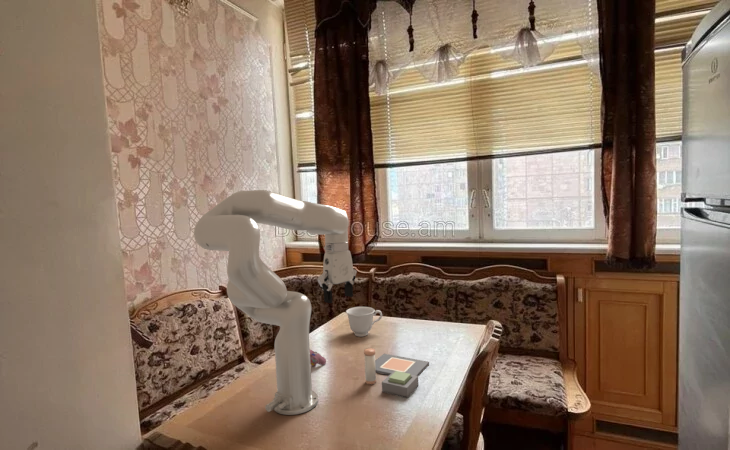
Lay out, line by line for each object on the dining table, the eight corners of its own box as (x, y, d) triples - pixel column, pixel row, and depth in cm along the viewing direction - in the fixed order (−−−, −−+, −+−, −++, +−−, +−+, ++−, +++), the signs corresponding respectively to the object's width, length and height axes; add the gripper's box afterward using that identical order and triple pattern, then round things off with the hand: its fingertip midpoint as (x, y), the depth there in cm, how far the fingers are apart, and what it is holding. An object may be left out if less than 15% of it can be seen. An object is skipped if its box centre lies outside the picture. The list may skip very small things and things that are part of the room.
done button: (404, 387, 112) (404, 380, 112) (389, 384, 115) (389, 377, 115) (411, 380, 117) (410, 373, 116) (396, 377, 119) (396, 370, 119)
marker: (373, 385, 119) (371, 353, 118) (363, 383, 120) (361, 351, 120) (378, 380, 122) (377, 349, 121) (368, 378, 123) (367, 347, 123)
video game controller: (298, 367, 137) (291, 353, 134) (304, 357, 141) (298, 343, 138) (321, 372, 133) (315, 358, 130) (328, 361, 136) (322, 347, 133)
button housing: (407, 398, 110) (407, 387, 110) (382, 392, 114) (381, 382, 114) (418, 385, 117) (418, 376, 117) (394, 380, 121) (393, 371, 121)
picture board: (413, 380, 121) (413, 377, 121) (365, 370, 129) (365, 367, 129) (429, 364, 132) (429, 361, 132) (384, 355, 141) (384, 353, 140)
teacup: (383, 338, 157) (382, 314, 157) (345, 339, 158) (344, 315, 157) (382, 328, 169) (381, 305, 169) (347, 329, 170) (346, 306, 169)
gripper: (325, 251, 120) (327, 306, 121) (362, 245, 133) (364, 295, 134) (309, 250, 125) (311, 303, 126) (346, 244, 138) (348, 292, 139)
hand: (338, 299), depth 130 cm, fingers open, 9 cm apart
